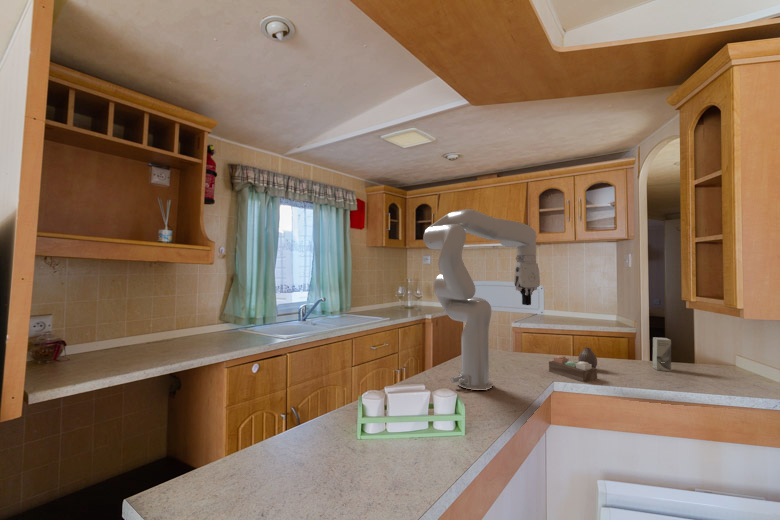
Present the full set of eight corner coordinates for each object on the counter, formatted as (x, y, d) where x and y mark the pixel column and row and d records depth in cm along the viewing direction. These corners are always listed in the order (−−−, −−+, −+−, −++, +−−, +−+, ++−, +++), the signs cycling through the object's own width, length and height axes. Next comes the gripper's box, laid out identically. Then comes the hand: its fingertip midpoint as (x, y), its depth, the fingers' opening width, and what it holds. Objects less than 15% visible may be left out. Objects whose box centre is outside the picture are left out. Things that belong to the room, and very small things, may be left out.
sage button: (573, 371, 138) (573, 363, 138) (564, 368, 141) (564, 361, 141) (579, 370, 140) (579, 362, 140) (571, 367, 143) (570, 360, 143)
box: (656, 370, 146) (656, 339, 147) (652, 367, 151) (651, 337, 151) (672, 371, 145) (671, 339, 145) (667, 368, 149) (666, 337, 149)
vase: (574, 368, 150) (574, 347, 150) (585, 366, 153) (585, 345, 153) (589, 372, 144) (589, 350, 144) (601, 370, 147) (600, 349, 147)
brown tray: (583, 382, 132) (583, 371, 132) (548, 371, 145) (548, 361, 145) (597, 379, 135) (596, 368, 136) (562, 368, 149) (562, 359, 149)
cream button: (585, 372, 134) (584, 364, 134) (575, 369, 137) (575, 362, 137) (591, 370, 135) (591, 363, 135) (582, 368, 139) (582, 360, 139)
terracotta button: (562, 365, 142) (562, 358, 142) (553, 363, 146) (553, 356, 146) (568, 364, 144) (568, 357, 144) (560, 362, 147) (560, 355, 147)
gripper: (519, 259, 139) (520, 306, 139) (546, 259, 146) (547, 304, 146) (505, 259, 146) (506, 304, 146) (532, 260, 153) (532, 303, 152)
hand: (526, 304), depth 146 cm, fingers closed
